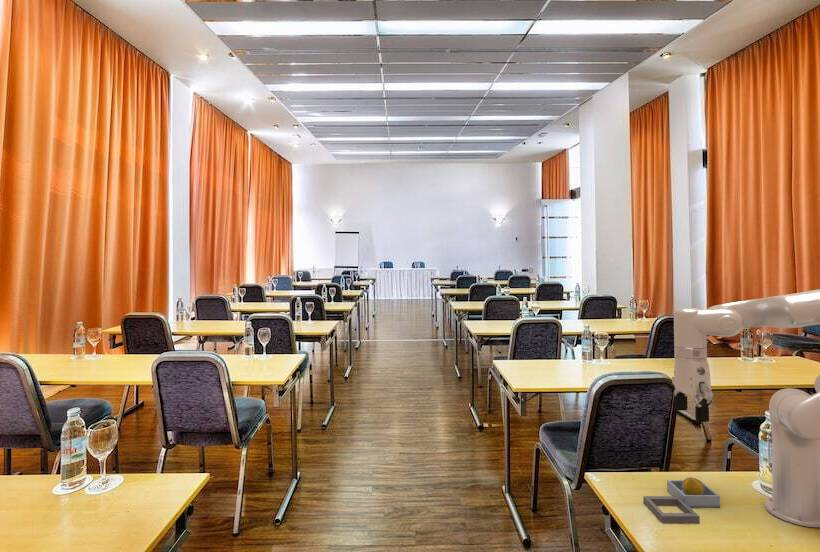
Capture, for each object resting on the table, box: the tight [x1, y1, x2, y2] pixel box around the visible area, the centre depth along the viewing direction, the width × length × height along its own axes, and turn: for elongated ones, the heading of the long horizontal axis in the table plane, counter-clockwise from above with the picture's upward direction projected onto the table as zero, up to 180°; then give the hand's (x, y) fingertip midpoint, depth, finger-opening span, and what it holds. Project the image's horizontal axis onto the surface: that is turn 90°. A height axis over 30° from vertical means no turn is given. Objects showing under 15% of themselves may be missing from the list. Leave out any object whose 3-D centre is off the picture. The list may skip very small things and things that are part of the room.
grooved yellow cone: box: [682, 477, 705, 495], centre depth 123 cm, size 5×5×10 cm
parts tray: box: [666, 479, 721, 509], centre depth 124 cm, size 9×9×3 cm
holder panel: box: [643, 495, 701, 525], centre depth 118 cm, size 9×10×2 cm
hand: (691, 415), depth 124 cm, fingers open, 9 cm apart
